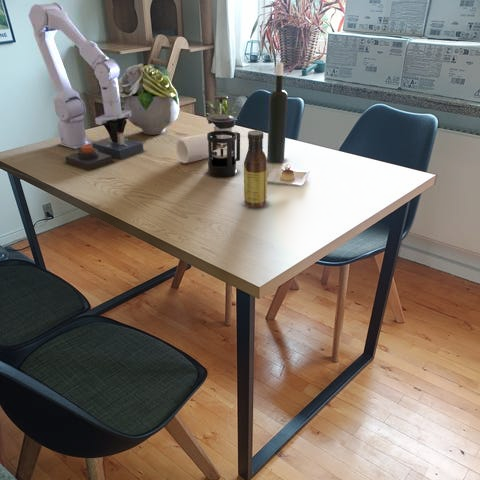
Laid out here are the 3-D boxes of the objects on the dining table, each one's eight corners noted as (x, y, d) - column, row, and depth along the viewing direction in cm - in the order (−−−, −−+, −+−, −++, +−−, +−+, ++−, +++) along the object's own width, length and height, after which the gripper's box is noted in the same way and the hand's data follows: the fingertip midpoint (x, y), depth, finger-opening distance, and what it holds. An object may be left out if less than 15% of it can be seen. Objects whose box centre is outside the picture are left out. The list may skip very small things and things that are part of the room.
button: (79, 152, 164) (78, 146, 163) (88, 149, 166) (87, 144, 165) (86, 154, 162) (85, 148, 161) (95, 151, 164) (94, 146, 163)
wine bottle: (265, 162, 167) (268, 63, 149) (269, 156, 171) (273, 60, 154) (281, 163, 166) (287, 64, 148) (285, 158, 170) (291, 61, 152)
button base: (66, 162, 166) (63, 151, 163) (89, 155, 172) (87, 143, 170) (89, 170, 160) (87, 158, 158) (112, 162, 166) (111, 150, 164)
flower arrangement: (109, 133, 194) (98, 64, 179) (156, 120, 209) (150, 56, 195) (151, 145, 181) (143, 72, 166) (198, 131, 196) (195, 63, 182)
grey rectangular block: (110, 142, 175) (108, 130, 172) (114, 140, 176) (112, 129, 173) (120, 144, 172) (119, 133, 170) (124, 143, 173) (123, 132, 171)
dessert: (309, 174, 157) (310, 159, 154) (303, 188, 148) (304, 172, 145) (272, 171, 160) (273, 156, 157) (264, 184, 151) (265, 168, 148)
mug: (213, 160, 168) (213, 136, 164) (189, 166, 163) (188, 141, 159) (194, 151, 176) (193, 128, 171) (170, 156, 171) (168, 133, 166)
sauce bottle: (253, 198, 142) (254, 126, 130) (270, 203, 139) (273, 131, 127) (239, 205, 138) (239, 132, 126) (256, 211, 135) (258, 136, 123)
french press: (215, 180, 153) (213, 101, 140) (200, 171, 159) (197, 95, 146) (246, 172, 158) (247, 96, 145) (230, 164, 165) (230, 90, 151)
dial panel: (93, 151, 175) (92, 142, 174) (117, 144, 183) (115, 135, 181) (120, 159, 169) (119, 150, 167) (143, 151, 176) (142, 142, 174)
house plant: (196, 139, 188) (194, 93, 178) (229, 134, 193) (229, 89, 183) (210, 149, 178) (209, 101, 168) (245, 144, 182) (245, 97, 173)
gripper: (102, 106, 159) (109, 148, 167) (135, 98, 168) (140, 138, 176) (88, 103, 162) (95, 144, 170) (121, 95, 172) (126, 135, 180)
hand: (117, 141), depth 174 cm, fingers closed on grey rectangular block, 2 cm apart
